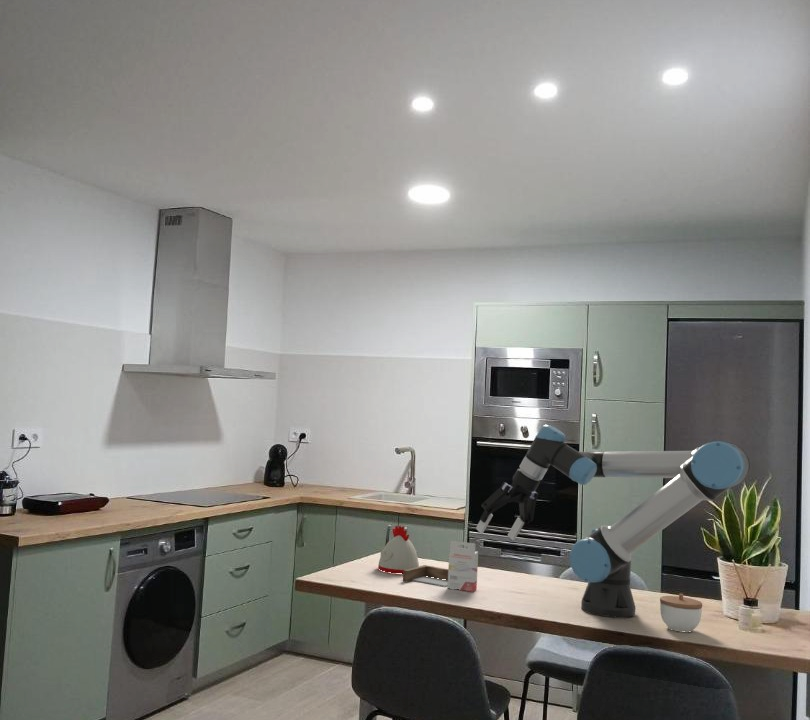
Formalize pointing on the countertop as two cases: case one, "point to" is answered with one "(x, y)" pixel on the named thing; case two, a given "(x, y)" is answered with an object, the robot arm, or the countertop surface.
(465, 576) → the ink cartridge box
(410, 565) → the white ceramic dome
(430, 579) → the pad
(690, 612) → the lidded jar
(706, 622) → the countertop surface
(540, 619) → the countertop surface
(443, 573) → the corner walls
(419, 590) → the countertop surface
